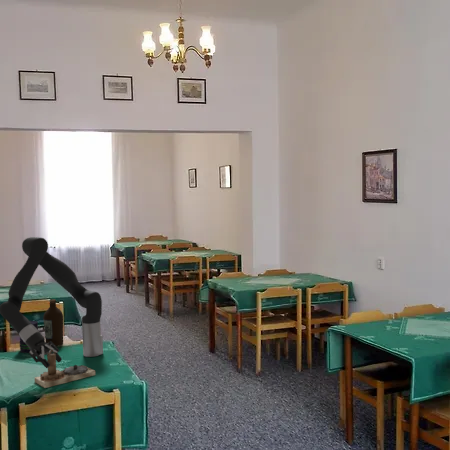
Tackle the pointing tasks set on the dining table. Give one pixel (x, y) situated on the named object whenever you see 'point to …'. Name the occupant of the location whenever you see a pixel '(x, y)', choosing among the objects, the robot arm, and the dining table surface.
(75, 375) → the gear board
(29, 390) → the dining table surface
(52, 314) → the olive oil
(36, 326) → the storage jar
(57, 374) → the walnut gear
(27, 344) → the robot arm
